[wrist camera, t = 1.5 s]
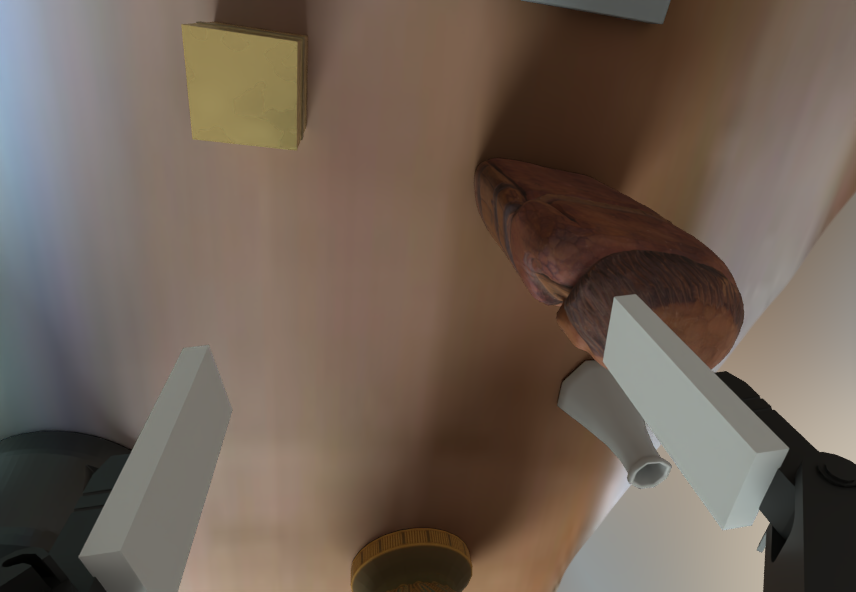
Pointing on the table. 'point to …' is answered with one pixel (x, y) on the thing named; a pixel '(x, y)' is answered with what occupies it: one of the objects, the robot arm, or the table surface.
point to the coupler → (246, 84)
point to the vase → (412, 563)
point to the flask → (613, 422)
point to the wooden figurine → (605, 257)
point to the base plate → (617, 8)
